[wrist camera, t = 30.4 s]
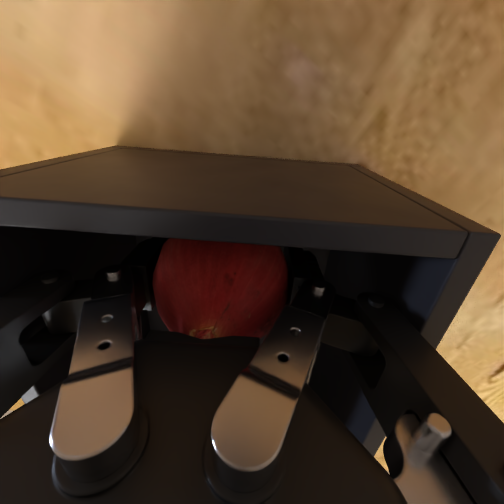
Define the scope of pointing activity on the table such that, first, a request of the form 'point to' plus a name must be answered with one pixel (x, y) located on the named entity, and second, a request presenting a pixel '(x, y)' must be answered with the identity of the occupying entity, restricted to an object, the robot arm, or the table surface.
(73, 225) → the dark open storage bin
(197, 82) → the table surface
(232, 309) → the onion
